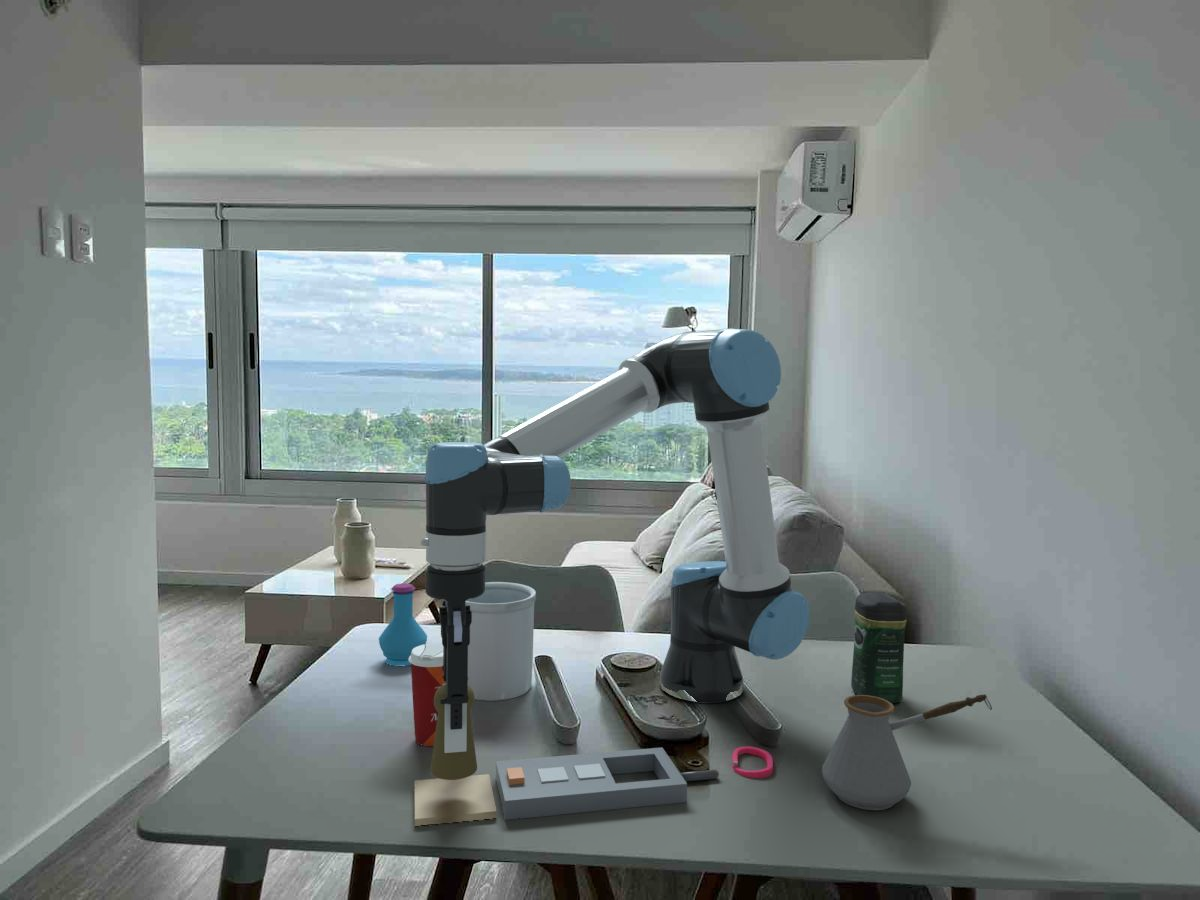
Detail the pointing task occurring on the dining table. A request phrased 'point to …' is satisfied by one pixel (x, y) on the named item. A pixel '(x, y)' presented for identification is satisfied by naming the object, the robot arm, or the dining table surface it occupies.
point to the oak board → (454, 800)
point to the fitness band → (754, 751)
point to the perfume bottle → (402, 628)
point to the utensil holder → (501, 641)
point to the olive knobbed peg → (455, 762)
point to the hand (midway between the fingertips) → (454, 740)
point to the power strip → (590, 783)
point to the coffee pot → (874, 752)
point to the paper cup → (426, 689)
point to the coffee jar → (878, 646)
